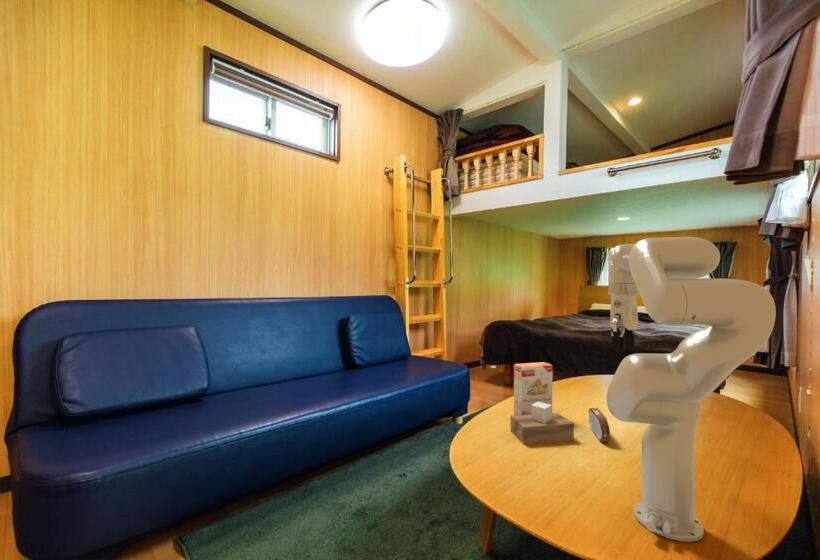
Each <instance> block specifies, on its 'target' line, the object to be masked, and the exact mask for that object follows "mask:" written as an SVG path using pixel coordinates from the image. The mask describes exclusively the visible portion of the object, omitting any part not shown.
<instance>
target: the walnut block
mask: <svg viewBox="0 0 820 560" xmlns="http://www.w3.org/2000/svg"><path fill="white" fill-rule="evenodd" d="M574 427H575V425H574V423H573V422H572V421H571V420H569V419H567V418H566V417H565V416H563V415H562V414H560V413H559V412H552V420H550V421H548V422H547V423H542V422H538V421H535V420H532V419H531V414H530V415H514V414H513V415H510V433H512V434H513V435H514V436H515V438H517V439H518V440H519V441H520V443H522V444H523V445H530V444H532V443H533V444H543V443H545V444H546V443H558V442H559V443H560V442H570V441H571V442H573V441H575V439H574V437H575V434H574V433H575V432H574V431H575V428H574Z"/></svg>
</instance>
